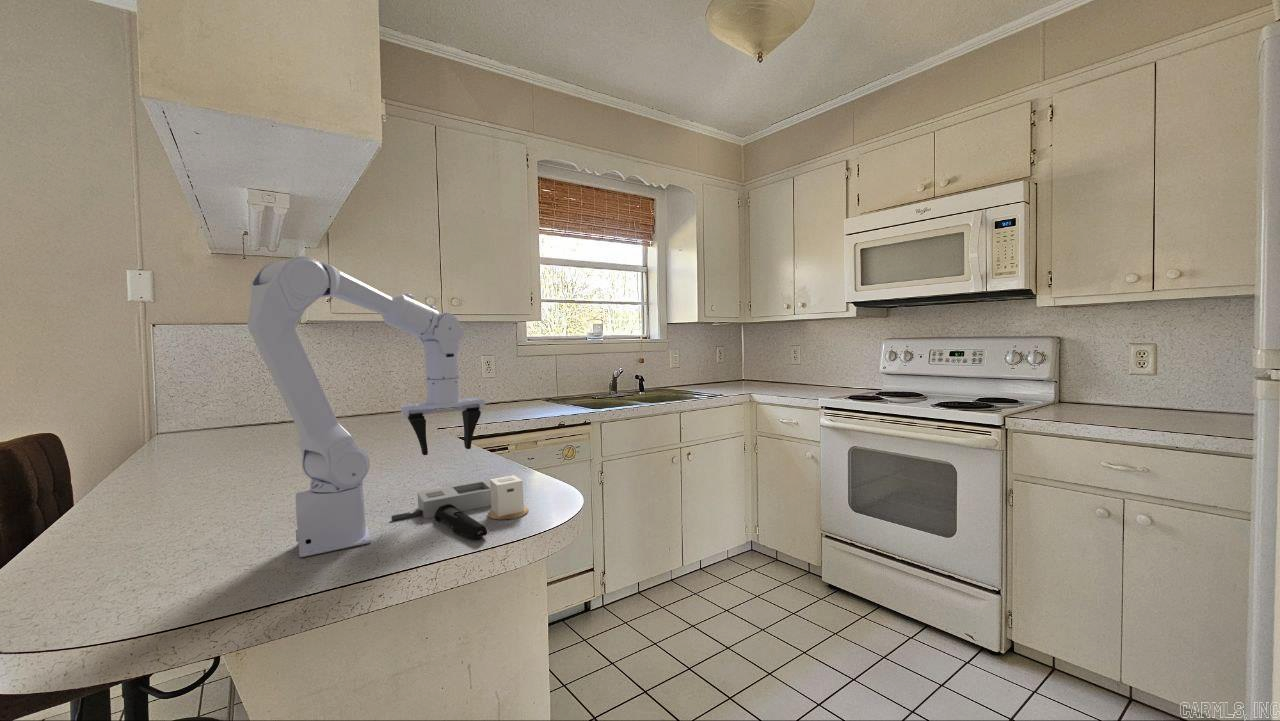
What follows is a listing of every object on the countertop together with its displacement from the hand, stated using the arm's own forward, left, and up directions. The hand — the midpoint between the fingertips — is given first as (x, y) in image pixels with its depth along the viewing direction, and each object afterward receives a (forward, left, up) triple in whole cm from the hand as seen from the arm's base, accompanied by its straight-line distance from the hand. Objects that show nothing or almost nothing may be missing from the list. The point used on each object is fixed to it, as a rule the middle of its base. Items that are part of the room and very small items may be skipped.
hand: (446, 451), depth 101 cm
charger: (+8, -10, -10) cm, 16 cm away
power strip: (0, -1, -10) cm, 10 cm away
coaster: (+8, -11, -10) cm, 17 cm away
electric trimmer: (-1, -13, -11) cm, 17 cm away
